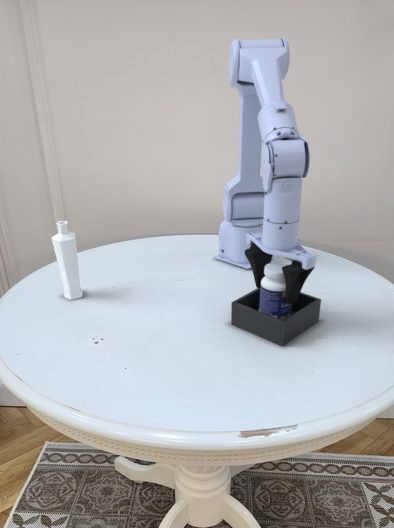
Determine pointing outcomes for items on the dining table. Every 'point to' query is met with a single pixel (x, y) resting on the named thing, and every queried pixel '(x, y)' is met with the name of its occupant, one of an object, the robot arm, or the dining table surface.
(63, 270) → the perfume bottle
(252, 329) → the basket
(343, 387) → the dining table surface
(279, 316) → the pill bottle
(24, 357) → the dining table surface
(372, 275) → the dining table surface
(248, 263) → the robot arm
